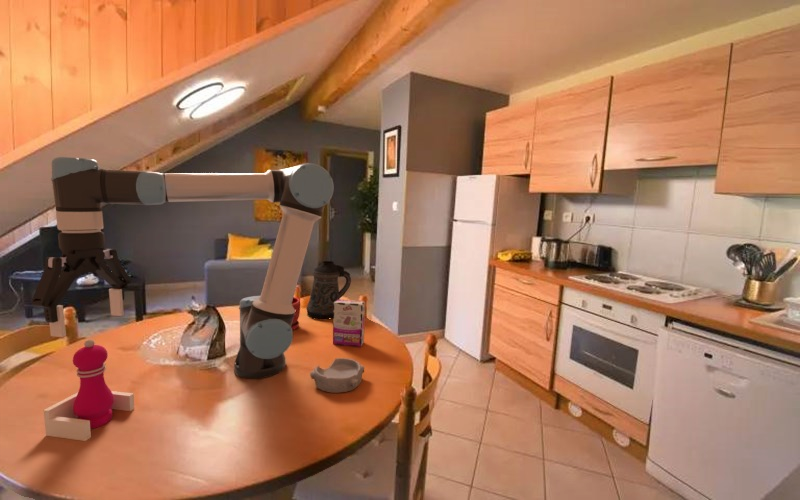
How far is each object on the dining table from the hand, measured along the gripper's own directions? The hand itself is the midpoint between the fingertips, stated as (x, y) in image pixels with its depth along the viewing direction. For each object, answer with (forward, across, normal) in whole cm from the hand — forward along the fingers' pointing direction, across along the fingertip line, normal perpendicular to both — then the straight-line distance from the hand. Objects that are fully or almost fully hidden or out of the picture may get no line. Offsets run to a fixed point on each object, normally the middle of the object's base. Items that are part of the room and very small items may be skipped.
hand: (90, 324), depth 81 cm
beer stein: (+25, -90, +26) cm, 96 cm away
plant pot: (+24, -67, +15) cm, 72 cm away
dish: (+25, -29, +50) cm, 62 cm away
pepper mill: (+24, 0, -1) cm, 24 cm away
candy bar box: (+25, -58, +45) cm, 77 cm away
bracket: (+24, 0, -1) cm, 24 cm away
